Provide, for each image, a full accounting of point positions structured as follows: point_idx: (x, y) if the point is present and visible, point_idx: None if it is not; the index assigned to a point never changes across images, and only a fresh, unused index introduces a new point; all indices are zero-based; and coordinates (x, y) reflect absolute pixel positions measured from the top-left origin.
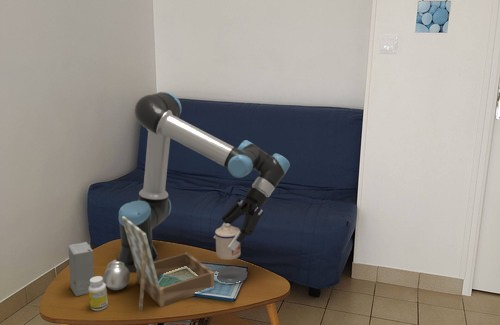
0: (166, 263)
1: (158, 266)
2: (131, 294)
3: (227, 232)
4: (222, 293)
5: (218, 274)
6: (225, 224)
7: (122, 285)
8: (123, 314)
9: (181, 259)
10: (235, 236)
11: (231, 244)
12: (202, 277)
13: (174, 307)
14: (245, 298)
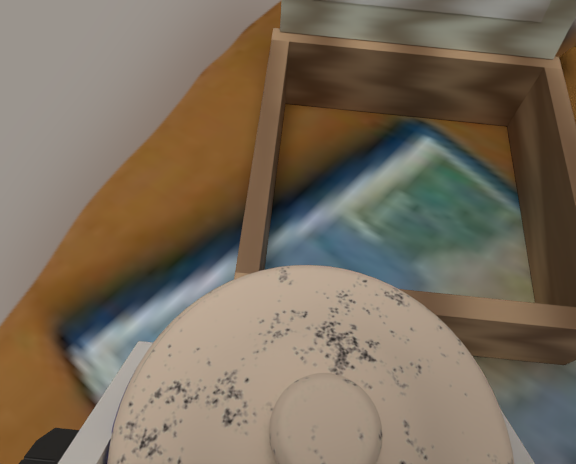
0: (557, 198)
1: (547, 160)
2: None
3: (212, 351)
4: None
5: None
6: (337, 381)
7: None
8: None
9: (574, 289)
10: (100, 432)
11: (123, 365)
12: (244, 220)
13: (231, 120)
14: (19, 396)
